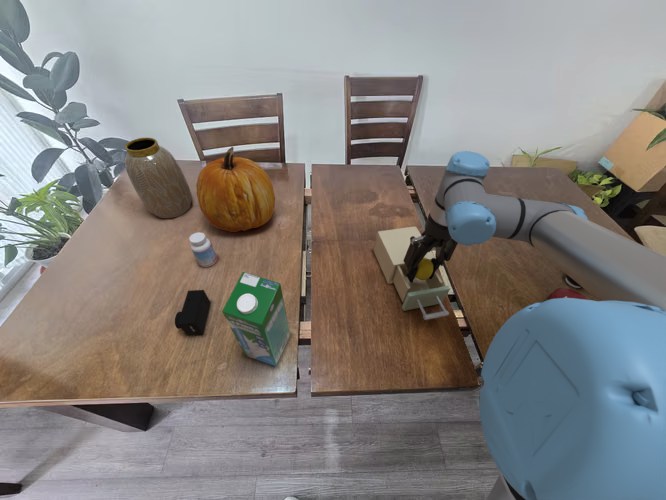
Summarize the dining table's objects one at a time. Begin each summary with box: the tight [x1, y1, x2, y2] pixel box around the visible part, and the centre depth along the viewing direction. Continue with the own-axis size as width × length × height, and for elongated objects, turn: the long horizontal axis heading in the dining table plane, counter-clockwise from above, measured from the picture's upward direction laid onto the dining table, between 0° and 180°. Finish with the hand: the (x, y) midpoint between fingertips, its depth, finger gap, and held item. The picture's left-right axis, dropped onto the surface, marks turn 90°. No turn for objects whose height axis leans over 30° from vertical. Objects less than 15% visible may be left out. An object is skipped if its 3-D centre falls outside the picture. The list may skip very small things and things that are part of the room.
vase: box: [124, 137, 193, 219], centre depth 101 cm, size 17×17×27 cm
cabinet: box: [373, 225, 436, 285], centre depth 91 cm, size 15×14×10 cm
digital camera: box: [174, 289, 212, 337], centre depth 76 cm, size 10×5×7 cm, turn 5°
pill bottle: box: [188, 231, 218, 268], centre depth 89 cm, size 6×6×11 cm
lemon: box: [415, 258, 433, 280], centre depth 79 cm, size 6×6×8 cm
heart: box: [546, 287, 590, 300], centre depth 82 cm, size 12×8×10 cm
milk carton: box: [221, 271, 291, 367], centre depth 65 cm, size 9×9×25 cm
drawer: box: [392, 265, 451, 321], centre depth 82 cm, size 20×13×8 cm, turn 13°
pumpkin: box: [196, 146, 276, 233], centre depth 97 cm, size 26×23×30 cm
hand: (419, 276), depth 82 cm, fingers closed on lemon, 5 cm apart
